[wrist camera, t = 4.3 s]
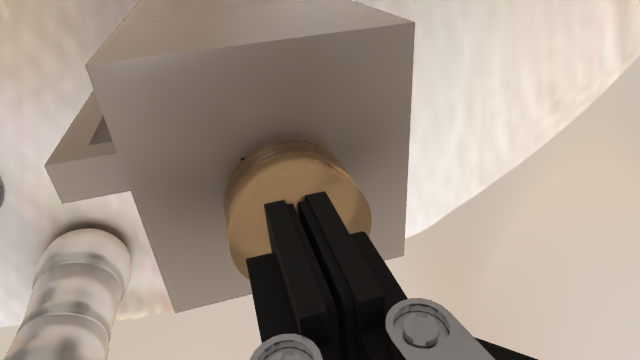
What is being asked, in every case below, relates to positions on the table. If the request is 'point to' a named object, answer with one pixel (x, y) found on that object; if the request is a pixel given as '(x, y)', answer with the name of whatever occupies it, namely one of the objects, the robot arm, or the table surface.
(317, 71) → the press pot
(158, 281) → the table surface
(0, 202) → the wine glass
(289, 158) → the plunger
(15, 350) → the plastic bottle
